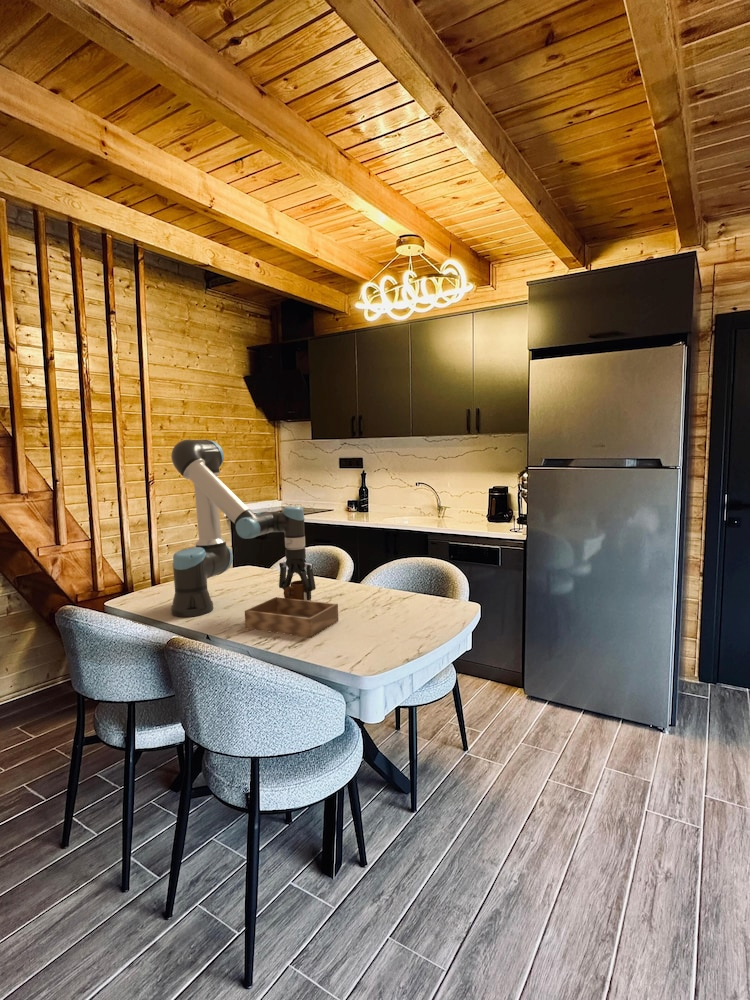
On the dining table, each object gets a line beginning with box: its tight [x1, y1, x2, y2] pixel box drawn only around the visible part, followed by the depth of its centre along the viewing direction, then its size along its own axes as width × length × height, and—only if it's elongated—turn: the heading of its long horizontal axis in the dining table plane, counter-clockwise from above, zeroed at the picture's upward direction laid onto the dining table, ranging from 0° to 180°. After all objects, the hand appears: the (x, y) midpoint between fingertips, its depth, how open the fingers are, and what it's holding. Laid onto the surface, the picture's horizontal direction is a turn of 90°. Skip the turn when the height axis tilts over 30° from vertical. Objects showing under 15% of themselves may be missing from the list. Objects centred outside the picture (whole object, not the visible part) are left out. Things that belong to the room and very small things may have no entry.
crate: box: [244, 596, 339, 638], centre depth 185 cm, size 26×18×6 cm
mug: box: [283, 579, 312, 601], centre depth 204 cm, size 12×8×9 cm, turn 141°
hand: (298, 607), depth 204 cm, fingers closed on mug, 7 cm apart
